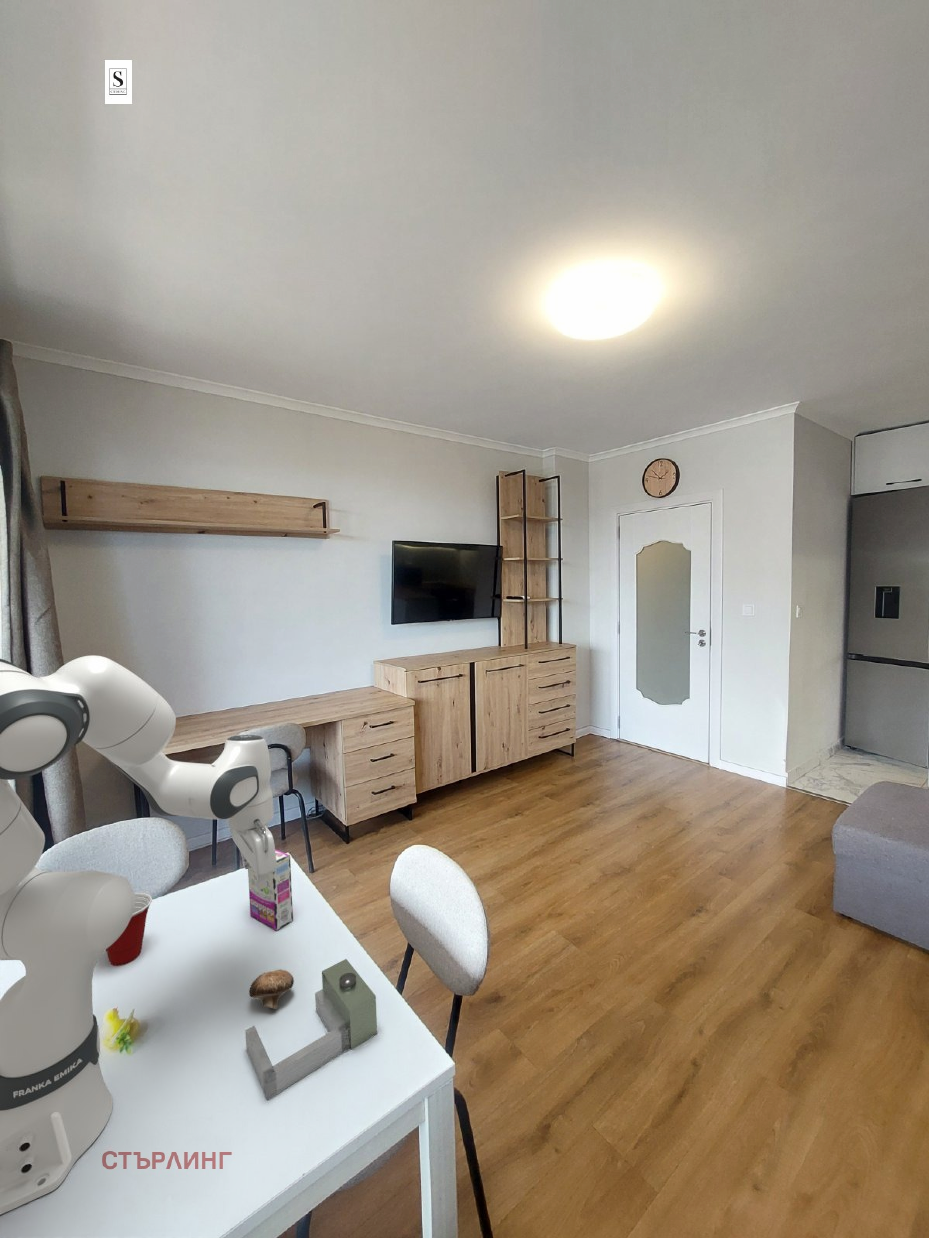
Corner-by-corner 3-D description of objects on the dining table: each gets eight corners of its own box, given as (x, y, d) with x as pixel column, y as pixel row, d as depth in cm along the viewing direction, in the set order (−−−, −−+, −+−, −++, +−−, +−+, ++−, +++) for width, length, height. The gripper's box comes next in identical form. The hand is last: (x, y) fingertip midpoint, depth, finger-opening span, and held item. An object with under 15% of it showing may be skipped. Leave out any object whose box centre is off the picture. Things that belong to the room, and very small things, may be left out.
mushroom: (275, 1009, 92) (273, 968, 95) (239, 1019, 93) (239, 979, 97) (303, 1000, 98) (300, 962, 102) (269, 1010, 100) (268, 973, 103)
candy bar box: (294, 920, 122) (291, 854, 121) (276, 932, 118) (273, 864, 117) (267, 905, 128) (263, 842, 128) (249, 915, 124) (245, 851, 124)
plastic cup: (163, 952, 112) (160, 900, 112) (106, 982, 104) (102, 926, 103) (145, 933, 119) (141, 883, 119) (90, 959, 111) (86, 906, 110)
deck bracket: (268, 1102, 78) (265, 1054, 78) (246, 1049, 87) (244, 1006, 87) (377, 1033, 90) (375, 991, 89) (347, 992, 99) (346, 954, 99)
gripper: (282, 825, 97) (286, 893, 98) (252, 792, 113) (256, 851, 114) (248, 836, 93) (253, 907, 94) (222, 800, 109) (226, 862, 110)
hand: (254, 876), depth 104 cm, fingers open, 8 cm apart
